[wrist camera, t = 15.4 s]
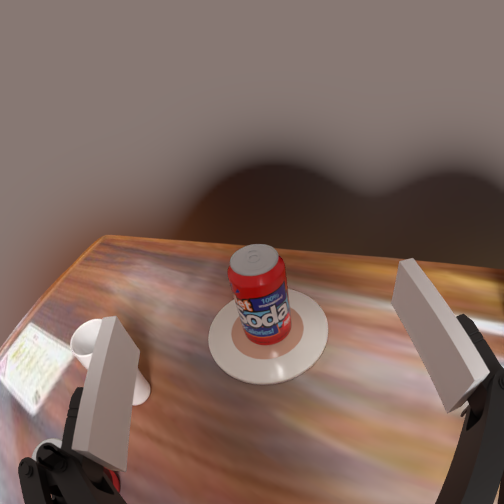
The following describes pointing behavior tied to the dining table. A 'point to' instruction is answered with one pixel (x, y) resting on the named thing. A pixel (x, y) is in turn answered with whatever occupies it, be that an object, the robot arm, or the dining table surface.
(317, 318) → the cream plate
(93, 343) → the drinking glass
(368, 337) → the dining table surface
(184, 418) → the dining table surface
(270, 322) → the soda can
